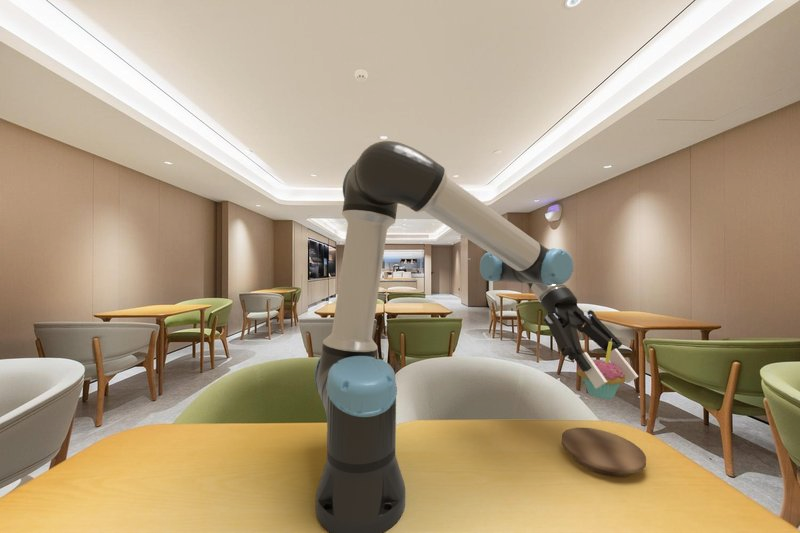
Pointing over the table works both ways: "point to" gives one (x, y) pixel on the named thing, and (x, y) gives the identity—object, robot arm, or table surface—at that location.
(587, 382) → the cupcake
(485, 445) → the table surface
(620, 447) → the brown plate
